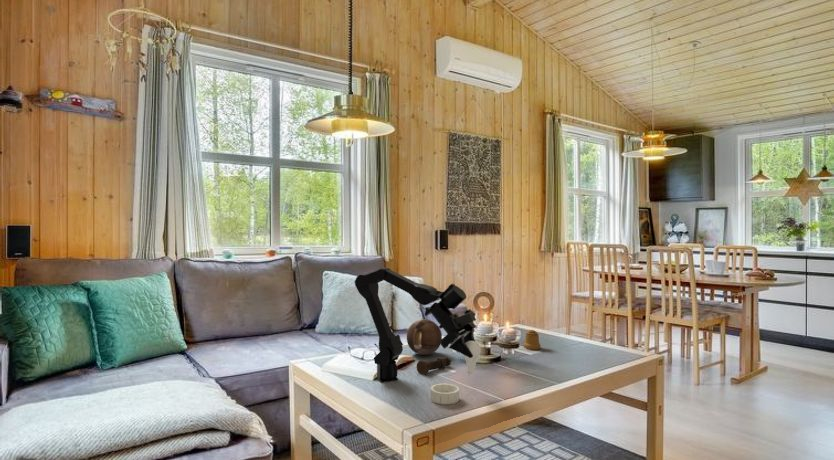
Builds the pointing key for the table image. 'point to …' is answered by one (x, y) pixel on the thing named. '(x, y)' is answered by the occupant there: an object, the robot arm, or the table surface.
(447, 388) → the ring
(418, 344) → the wooden sphere
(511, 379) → the table surface
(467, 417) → the table surface
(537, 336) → the brass bell
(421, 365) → the bolt
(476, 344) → the lightbulb
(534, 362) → the table surface
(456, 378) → the table surface
